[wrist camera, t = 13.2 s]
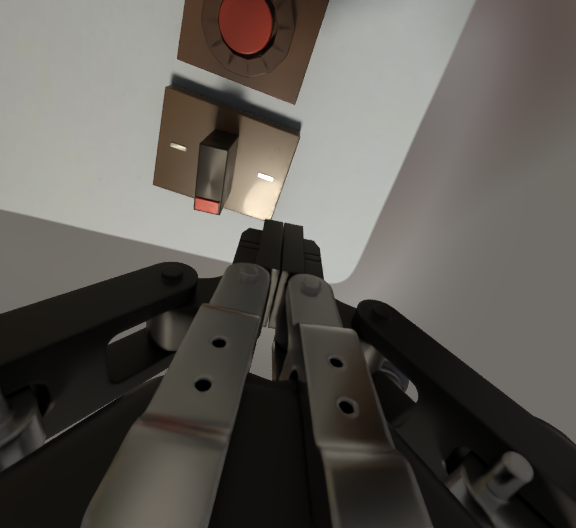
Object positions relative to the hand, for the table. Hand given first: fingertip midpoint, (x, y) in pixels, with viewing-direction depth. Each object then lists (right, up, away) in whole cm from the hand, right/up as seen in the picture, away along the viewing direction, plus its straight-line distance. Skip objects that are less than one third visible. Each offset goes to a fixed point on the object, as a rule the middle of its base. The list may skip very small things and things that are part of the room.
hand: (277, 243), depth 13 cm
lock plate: (-6, +10, +19) cm, 22 cm away
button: (-2, +16, +11) cm, 20 cm away
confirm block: (-2, +18, +14) cm, 23 cm away
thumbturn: (-6, +9, +18) cm, 20 cm away
